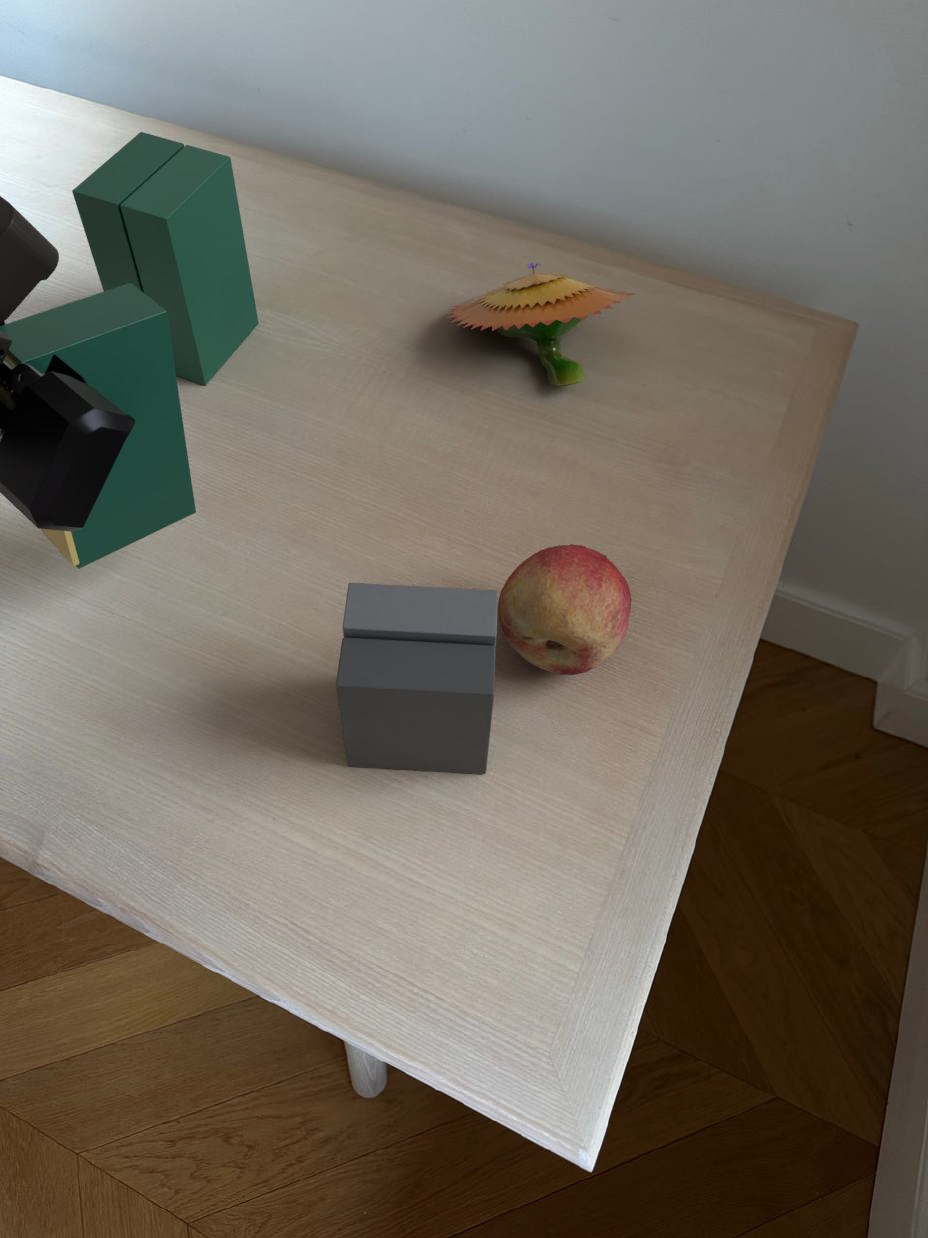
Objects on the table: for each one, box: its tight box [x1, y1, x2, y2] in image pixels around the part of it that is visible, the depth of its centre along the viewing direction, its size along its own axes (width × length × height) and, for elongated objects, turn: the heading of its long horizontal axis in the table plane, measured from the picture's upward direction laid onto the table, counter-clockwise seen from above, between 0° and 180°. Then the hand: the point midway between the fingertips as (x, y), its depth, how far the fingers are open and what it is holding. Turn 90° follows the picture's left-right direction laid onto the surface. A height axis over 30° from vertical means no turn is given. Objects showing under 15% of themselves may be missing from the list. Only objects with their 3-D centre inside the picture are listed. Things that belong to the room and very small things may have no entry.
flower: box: [446, 262, 635, 387], centre depth 78 cm, size 15×13×8 cm
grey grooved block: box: [335, 582, 499, 775], centre depth 56 cm, size 8×6×10 cm
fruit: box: [497, 543, 632, 676], centre depth 60 cm, size 8×8×8 cm
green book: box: [0, 283, 197, 569], centre depth 56 cm, size 8×4×14 cm, turn 133°
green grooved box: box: [71, 131, 259, 386], centre depth 73 cm, size 8×7×14 cm
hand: (109, 409), depth 56 cm, fingers closed on green book, 4 cm apart
